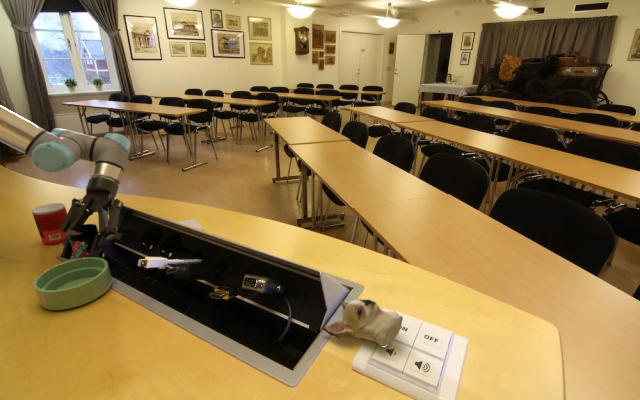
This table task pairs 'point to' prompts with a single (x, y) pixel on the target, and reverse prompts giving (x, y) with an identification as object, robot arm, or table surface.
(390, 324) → the ceramic sculpture
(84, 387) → the table surface
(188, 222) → the charger
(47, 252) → the table surface
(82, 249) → the supplement container
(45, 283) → the bowl
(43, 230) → the canned food
